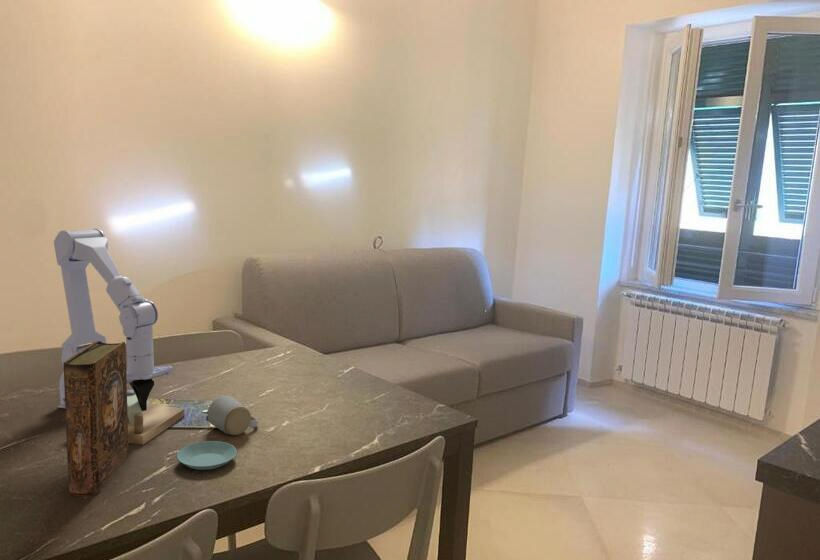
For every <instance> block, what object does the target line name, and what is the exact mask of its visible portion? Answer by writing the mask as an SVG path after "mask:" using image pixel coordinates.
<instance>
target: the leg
mask: <svg viewBox="0 0 820 560" xmlns="http://www.w3.org/2000/svg"><path fill="white" fill-rule="evenodd" d="M127 414H128V418H129V422H130V425H131V426H132V425H134V415H135V414H142V410H141V408H140V405H139V402H138V399H137V396H136V394H135V392H134V390H133V389H127Z"/></svg>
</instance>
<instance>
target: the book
mask: <svg viewBox="0 0 820 560" xmlns="http://www.w3.org/2000/svg"><path fill="white" fill-rule="evenodd" d="M90 344H91V345H90V346H88V347H86V348H85V349H83V350H82V351H80V352H79V353H77V354H76V355H74V356H72V357H71V358H69V359H68V360H66V361H65V362H63V364H64V367H63V373H64V388H65V408H64V410H65V426H66V427H65V430H66V433H65V435H66V451H67V452H66V454H67V456H66V458H67V478H68V479H67V480H68V482H67V483H68V494H69V495H71V496H75V497H76V496H77V497H87V496H88V497H89V496H94V495H97V494H99V493H100V492H101V491H103V489H104V487H105V486H106V485H107V483H109V482H110V480H112V477H114V475H115V474H116V472H117V471H118V470H119V469H120V468H121V467H122V465H123V464H124V463H125V461H126V460H127V458H129V457H128V456H129V443H128V414H127V390H128V385H127V384H128V383H127V375H126V372H127V351H126V341H122V342H120V343H119V342H118V343H108V342H107V343H99V341H96V342H94V343H93V344H92V343H90Z"/></svg>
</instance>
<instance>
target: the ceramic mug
mask: <svg viewBox="0 0 820 560" xmlns="http://www.w3.org/2000/svg"><path fill="white" fill-rule="evenodd" d="M207 420H208V422H209V423H210V425H212V426H213V427H215V428H217V429H218V430H220V431H222V432H223V433H225V434H226V435H229V436H233V437H234V436H235V437H236V436H239V435H241V434H243V433H245V432H246V431H247V429H248V428H249V427H250V428H256V427H257V426H258V422H259V420H258V418H255V417H253V416H252V415H251V412H250V410H249V409H248V408H247V407H246V406H245V405H244V404H243V403H241V402H240V401H238V400H237V399H236V398H234V397H233V396H231V395H227V394H226V395H221V396H218V397H216V398H215V399H213V401H212V402H211V403H210V405H209V407H208V409H207Z"/></svg>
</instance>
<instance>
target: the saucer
mask: <svg viewBox="0 0 820 560" xmlns="http://www.w3.org/2000/svg"><path fill="white" fill-rule="evenodd" d="M237 453H238V450H237V448H236V447H235V446H234V445H233V444H231V443H228V442H225V441H224V442H223V441H218V440H216V441H215V440H208V441H207V440H206V441H198V442H193V443H191V444H188V445H186V446H184V447H181V449H180V450H179V451H178V452H177V454H176V458H177V460H178V461H179V462H180V463H182V465H184V466H186V467H188V468H189V469H194V470H197V471H210V470H216V469H217V468H220V467H223V466H224V465H227V464H228V463H229V462H230V461H232V460H233V459H234V458H235V457H236V456H237Z"/></svg>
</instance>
